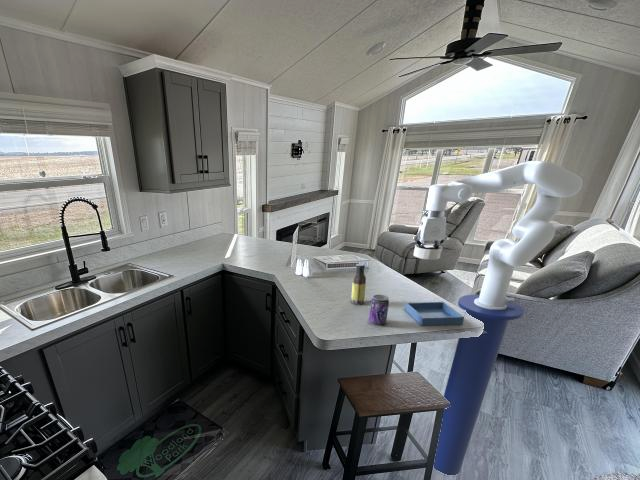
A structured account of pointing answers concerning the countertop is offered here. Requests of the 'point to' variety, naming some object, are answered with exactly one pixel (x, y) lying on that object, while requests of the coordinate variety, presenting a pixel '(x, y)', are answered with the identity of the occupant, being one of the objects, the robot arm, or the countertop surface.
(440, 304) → the tub
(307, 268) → the shaker set
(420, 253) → the white round bowl
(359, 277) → the sauce bottle
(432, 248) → the block
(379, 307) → the beverage can
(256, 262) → the countertop surface
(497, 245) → the robot arm
